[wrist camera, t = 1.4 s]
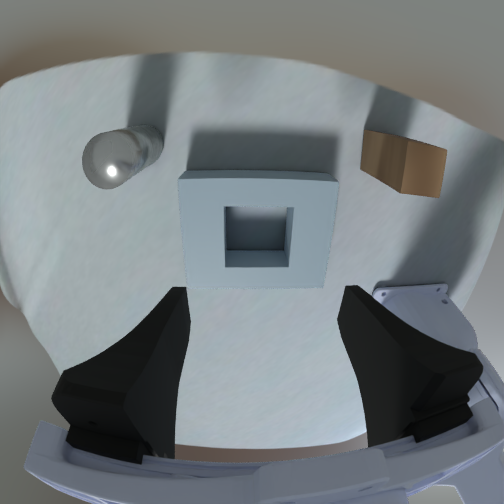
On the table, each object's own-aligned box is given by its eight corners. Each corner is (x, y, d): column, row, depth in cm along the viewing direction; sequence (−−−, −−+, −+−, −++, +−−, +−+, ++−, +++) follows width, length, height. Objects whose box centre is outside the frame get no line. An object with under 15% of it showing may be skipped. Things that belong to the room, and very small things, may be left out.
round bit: (162, 122, 17) (130, 128, 12) (164, 164, 18) (134, 187, 13) (122, 127, 17) (79, 136, 12) (125, 167, 18) (85, 191, 13)
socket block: (328, 173, 19) (339, 182, 17) (315, 270, 23) (323, 287, 21) (185, 170, 19) (177, 179, 17) (192, 270, 23) (187, 288, 20)
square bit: (398, 135, 18) (447, 149, 13) (394, 173, 19) (438, 198, 14) (364, 129, 18) (407, 140, 12) (360, 169, 19) (400, 193, 14)
